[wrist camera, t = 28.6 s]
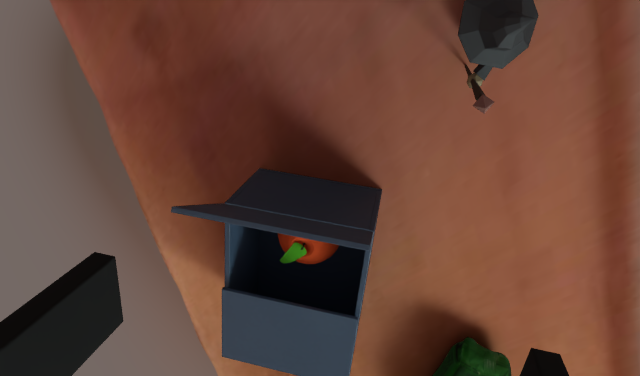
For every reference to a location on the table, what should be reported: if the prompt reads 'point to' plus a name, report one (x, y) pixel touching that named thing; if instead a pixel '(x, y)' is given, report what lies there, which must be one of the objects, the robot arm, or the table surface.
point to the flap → (280, 224)
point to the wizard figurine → (494, 37)
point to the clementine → (305, 250)
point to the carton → (295, 278)
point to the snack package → (473, 361)
